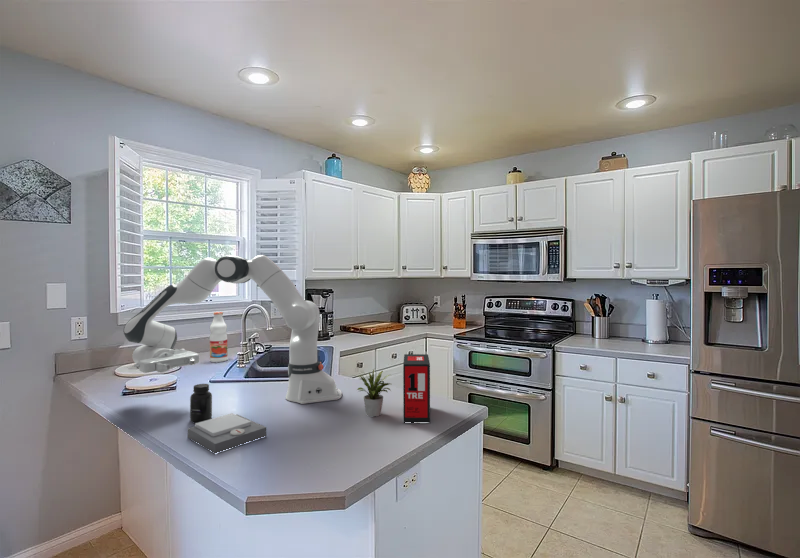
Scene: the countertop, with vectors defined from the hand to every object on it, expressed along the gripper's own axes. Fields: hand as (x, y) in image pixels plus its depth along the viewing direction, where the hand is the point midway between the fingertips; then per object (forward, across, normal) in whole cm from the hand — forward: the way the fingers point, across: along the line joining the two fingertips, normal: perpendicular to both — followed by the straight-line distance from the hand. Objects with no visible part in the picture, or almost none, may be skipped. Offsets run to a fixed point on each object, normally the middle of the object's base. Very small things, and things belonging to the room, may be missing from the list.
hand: (181, 364), depth 148 cm
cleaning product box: (+72, +45, +17) cm, 87 cm away
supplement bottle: (+12, 0, +18) cm, 22 cm away
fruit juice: (-70, +60, +18) cm, 93 cm away
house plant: (+59, +36, +17) cm, 71 cm away
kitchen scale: (+34, -4, +17) cm, 38 cm away
